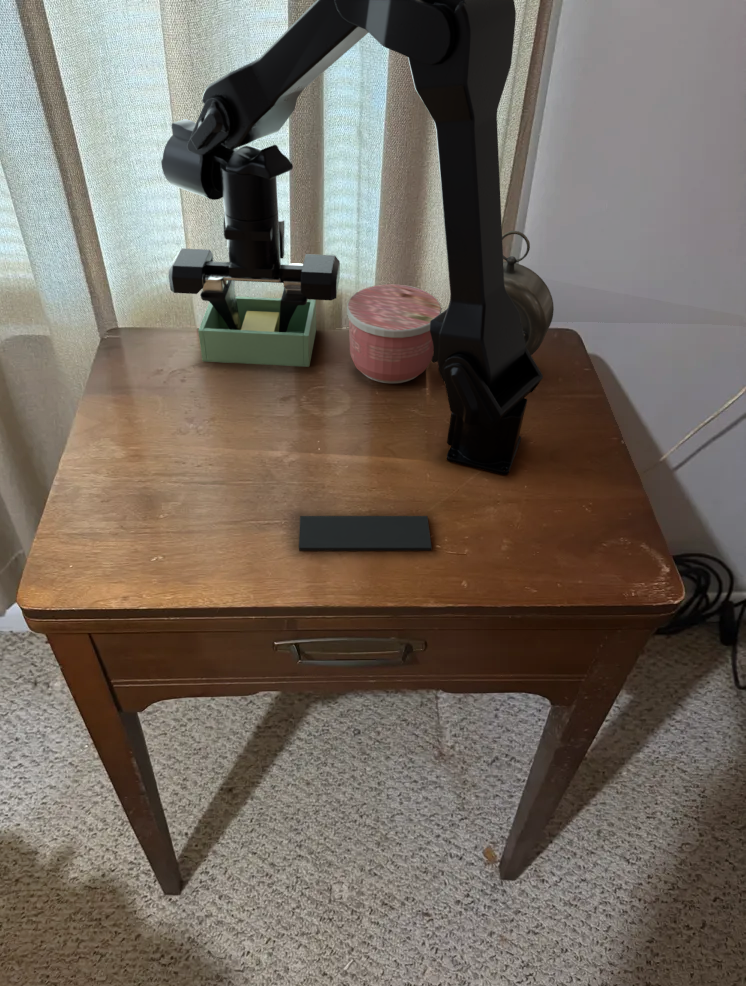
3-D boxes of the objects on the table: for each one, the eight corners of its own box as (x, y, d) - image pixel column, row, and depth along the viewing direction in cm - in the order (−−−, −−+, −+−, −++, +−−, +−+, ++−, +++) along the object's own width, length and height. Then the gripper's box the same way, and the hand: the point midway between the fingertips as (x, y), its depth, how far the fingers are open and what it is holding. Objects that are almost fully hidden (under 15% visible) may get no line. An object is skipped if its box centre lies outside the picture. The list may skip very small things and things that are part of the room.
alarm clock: (541, 365, 90) (573, 230, 78) (530, 389, 87) (562, 251, 75) (454, 344, 93) (472, 212, 82) (440, 366, 90) (456, 231, 78)
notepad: (280, 332, 94) (279, 312, 92) (273, 358, 90) (272, 337, 88) (248, 331, 94) (246, 310, 92) (240, 357, 90) (238, 336, 88)
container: (414, 403, 84) (421, 339, 79) (330, 379, 88) (330, 316, 82) (447, 357, 91) (455, 295, 85) (367, 337, 94) (370, 276, 88)
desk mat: (427, 518, 71) (427, 515, 71) (431, 550, 68) (431, 547, 68) (300, 518, 71) (300, 515, 71) (298, 550, 68) (298, 547, 68)
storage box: (316, 333, 95) (315, 299, 92) (309, 370, 89) (308, 335, 86) (216, 328, 95) (212, 294, 92) (202, 364, 89) (197, 330, 86)
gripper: (344, 185, 85) (342, 311, 97) (181, 178, 86) (198, 304, 97) (336, 226, 78) (335, 358, 89) (157, 218, 78) (178, 350, 90)
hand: (260, 340), depth 91 cm, fingers open, 5 cm apart
